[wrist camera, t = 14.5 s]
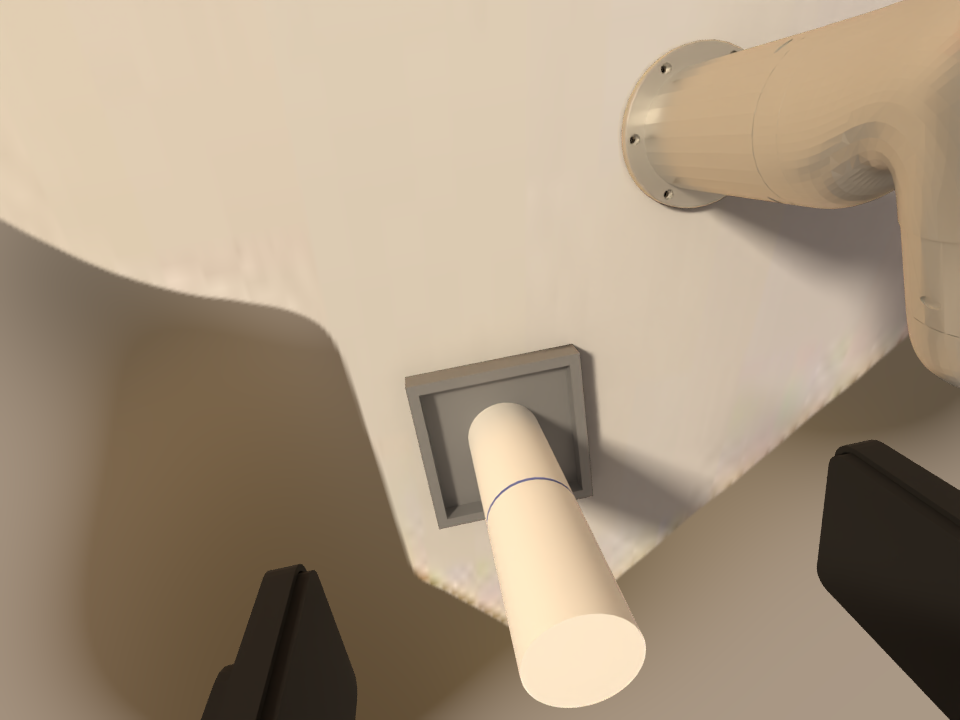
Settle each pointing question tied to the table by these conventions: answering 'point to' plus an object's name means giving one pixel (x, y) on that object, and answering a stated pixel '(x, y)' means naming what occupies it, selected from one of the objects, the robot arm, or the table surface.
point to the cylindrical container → (550, 568)
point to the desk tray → (472, 388)
